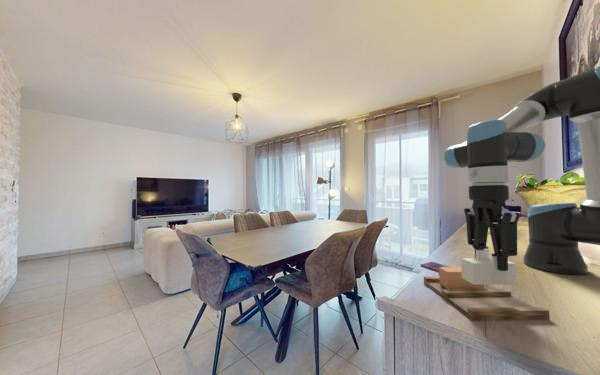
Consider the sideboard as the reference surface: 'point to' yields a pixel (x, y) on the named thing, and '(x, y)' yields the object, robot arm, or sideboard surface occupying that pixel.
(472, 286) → the terracotta stub
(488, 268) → the cream stub
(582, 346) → the sideboard surface
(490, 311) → the comb board
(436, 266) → the smartphone
